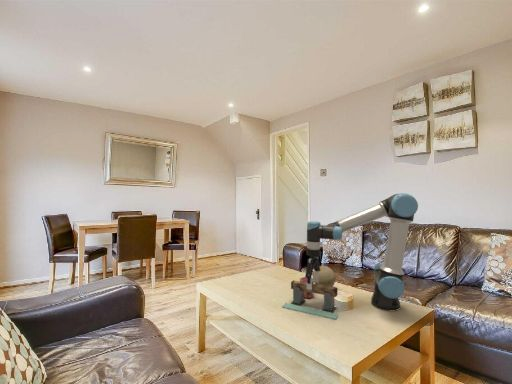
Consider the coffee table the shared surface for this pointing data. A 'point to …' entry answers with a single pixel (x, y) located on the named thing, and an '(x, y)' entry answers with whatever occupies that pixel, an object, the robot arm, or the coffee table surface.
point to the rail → (314, 288)
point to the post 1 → (298, 296)
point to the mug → (306, 294)
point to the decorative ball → (326, 276)
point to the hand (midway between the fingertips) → (312, 285)
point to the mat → (311, 311)
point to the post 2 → (328, 302)
